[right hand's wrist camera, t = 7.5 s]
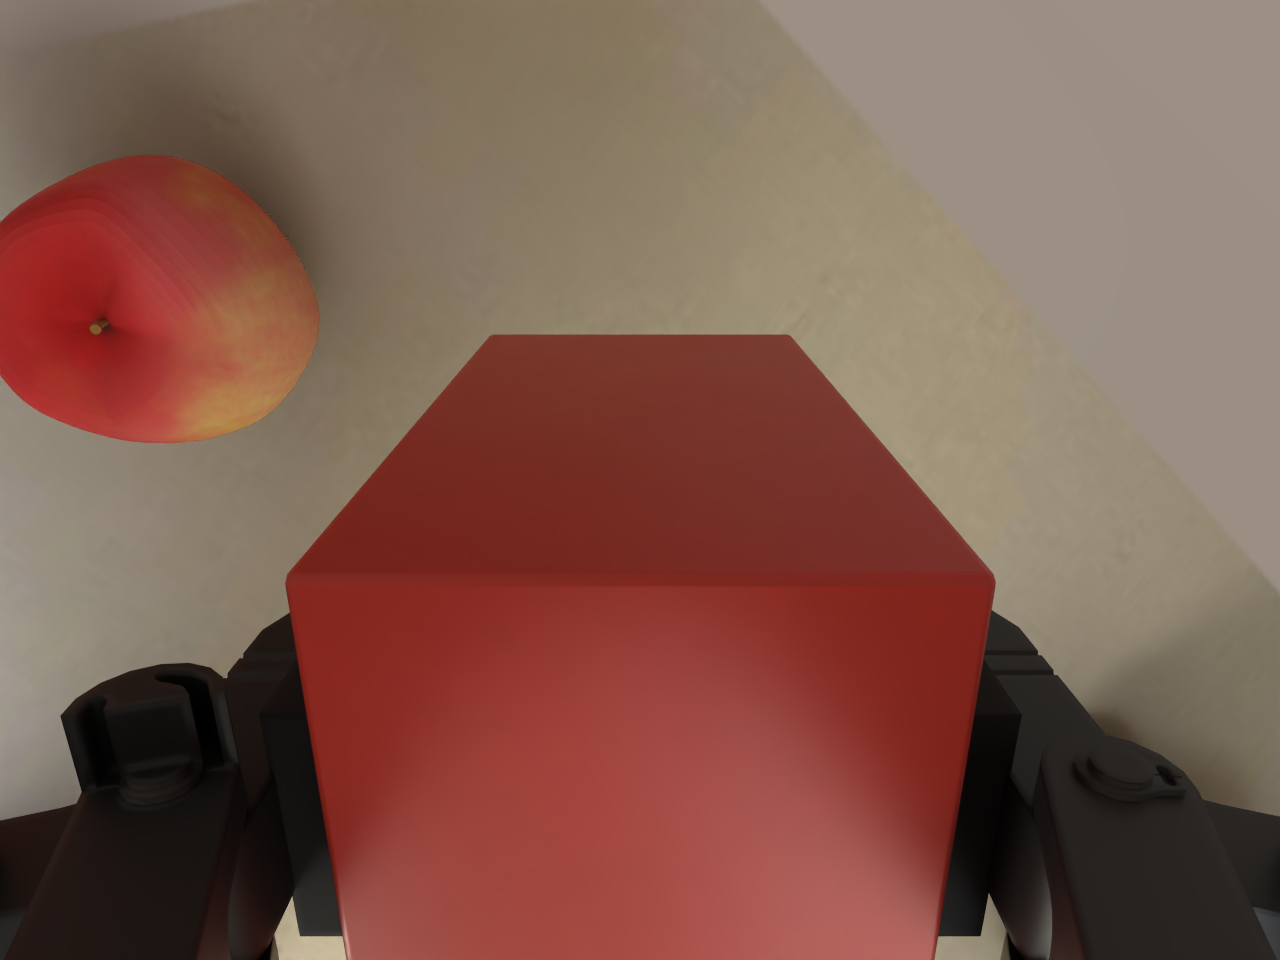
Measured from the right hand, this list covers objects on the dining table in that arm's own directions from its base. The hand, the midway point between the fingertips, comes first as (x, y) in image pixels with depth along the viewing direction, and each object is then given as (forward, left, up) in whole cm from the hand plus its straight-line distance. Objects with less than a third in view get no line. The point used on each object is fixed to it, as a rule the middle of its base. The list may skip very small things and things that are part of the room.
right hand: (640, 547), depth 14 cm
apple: (+6, +16, -22) cm, 28 cm away
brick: (0, 0, -2) cm, 2 cm away
